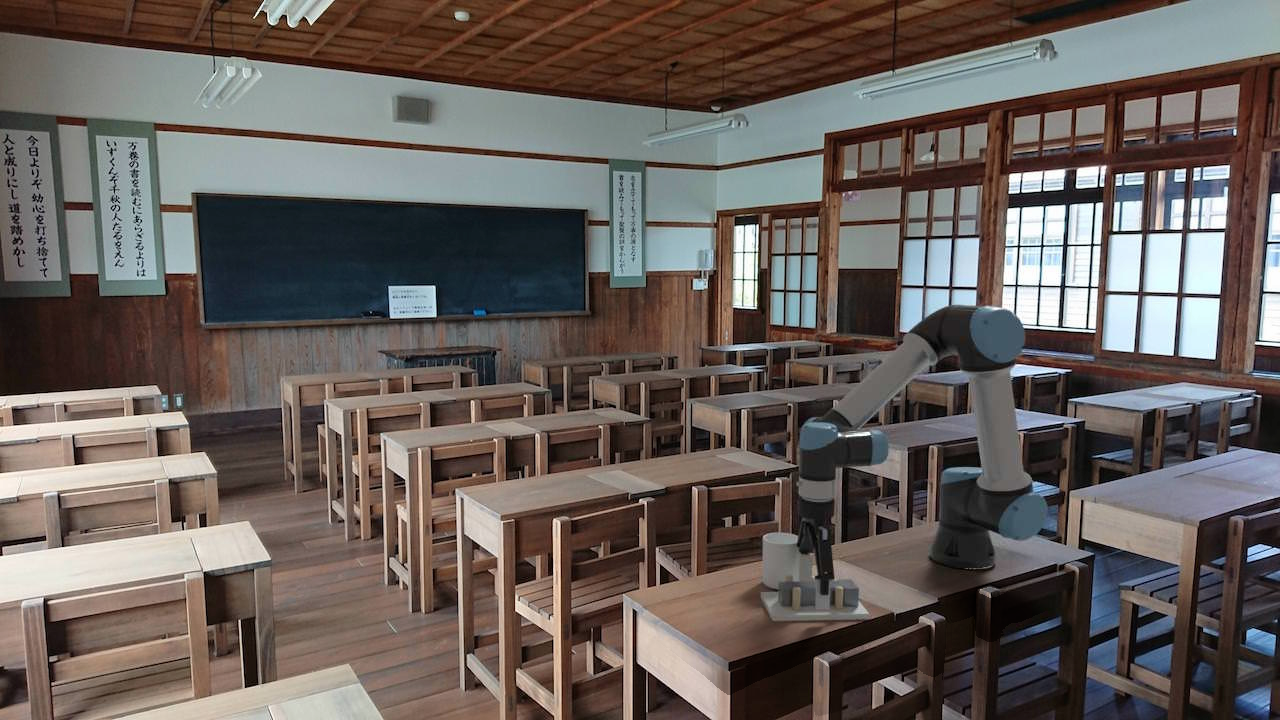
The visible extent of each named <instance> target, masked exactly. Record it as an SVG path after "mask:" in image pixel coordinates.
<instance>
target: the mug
mask: <svg viewBox="0 0 1280 720" xmlns="http://www.w3.org/2000/svg"><path fill="white" fill-rule="evenodd" d="M797 541H798V535H796V534H793V533H787V532H769V533H767V534H765V535H763V537H762V583H763V584H764V585H765V586H766V587H767V588H769V589H773V590H777V591H778V588H779V582H785V576H786V575H791V576H793V582H799V557H800V554H801V553H799V548H798V547H797ZM809 554H811V553H809Z"/></svg>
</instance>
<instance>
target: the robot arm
mask: <svg viewBox="0 0 1280 720" xmlns="http://www.w3.org/2000/svg"><path fill="white" fill-rule="evenodd" d="M902 341H903V343H901V344H900V345H899V346H898V347H897V348H895V350H894V351H893V352H891V353H890V354H889V355H888V356H887V357H886V358H885V359H884V360H883V361H882V362H881V363H880V364H879V365H877V366H876V367H875V368H874V369H873V370H872V371H870V373H869V374H868V375H866V376H865V377H864V378H863V379H862V380H861V381H860V382H859V383H858V384H857V385H856V386H855V387H853V389H852V390H850V391H849V392H848V393H847V394H846V395H845V396H844V397H843V398H842V399H841V400H840V401H839V402H837V403H836V405H834V406H833V407H832V408H831V409H830V410H829V411H828V412H827V413H825V414H824V415H823V416H815V417H814V416H813V417H811V418H808V420H806V421H805V422H804V424H803V425H802V427H801V428H800V434H799V443H798V447H799V449H798V450H799V454H798V455H799V457H798V458H799V459H798V460H799V461H798V464H799V465H798V481H796V482H795V483H796V484H795V485H796V486H797V487H798V495H799V497H798V498H797V514H798V515H799V516H800V517H801V519H800V524H799V532H798V535H797V536H798V541H797V547H798V548H799V553H801V554H800V557H799V582H803V581H813V554H814V558H815V566H816V572H817V574H816V575H815V576H814V580H815V581H816V601H815V608H816V609H829V606H830V580H834V581H835V576H836V575H835V571H834V558H833V550H832V549H833V548H832V530H831V529H830V528H828V526H827V525H826V521H828V519H832V518H833V517H834V516H835V513H836V512H835V509H836V508H835V507H836V501H835V499H834V498H835V497H836V490H837V489H836V485H837V484H836V483H837V482H836V481H837V477H836V474H837V469H841V468H843V469H844V468H854V467H855V468H857V467H858V468H859V467H871V466H877V465H881V464H883V463H885V461H886V460H887V458H888V456H889V447H890V446H889V441H888V438H887V437H886V435H885V433H883V432H882V431H880V429H869V428H868V429H863V430H862V429H861V428H862V427H863V426H864V425H865V424H866V423H867V422H868V421H870V419H872V418H873V417H874V416H875V415H876V414H877V413H878V412H879V411H880V410H881V409H882V408H883V407H884V406H885V405H886V404H888V403H889V402H890V401H891V400H893V398H894V397H895V396H896V395H897V394H898V393H900V391H901V390H903V389H904V388H905V386H907V385H908V384H909V383H911V381H912V380H913V379H915V378H916V376H918V375H919V374H920V373H921V372H922V371H923V370H924V369H925V368H926V367H928V366H930V367H932V366H934V365H936V364H938V362H939V361H941V359H943V358H946V357H948V356H949V357H950V356H952V355H953V356H957V358H958V363H959V368H960V371H961V372H962V373H964V374H965V375H967V376H968V381H969V388H970V396H971V403H972V410H973V416H974V417H973V418H974V422H975V430H976V437H977V445H978V452H979V458H980V464H981V465H980V466H981V467H972V466H959V467H958V466H957V467H949V468H946V469H945V470H943V471H942V473H941V477H940V483H939V507H938V508H939V509H938V510H939V511H938V513H939V514H938V515H939V516H938V518H939V519H938V527H937V530H936V533H935V534H934V537H933V539H932V541H931V544H930V548H929V550H930V551H929V556H930V558H931V559H932V560H933V561H934V562H936V561H937V562H936V563H938V562H939V563H938V564H940V563H941V565H943V564H944V566H946V565H947V567H950V566H951V568H954V567H956V568H955V569H959V568H968V569H969V568H972V569H973V568H983V567H988V566H991V565H993V564H994V563H995V564H996V559H997V558H996V557H997V554H996V551H995V548H994V544H993V541H992V537H991V534H990V531H991V532H993V533H995V534H998V535H1000V536H1001V537H1003V538H1005V539H1010V540H1012V541H1013V540H1014V541H1017V542H1021V541H1022V542H1023V541H1028V540H1029V539H1032V538H1034V537H1035V536H1036V535H1037V534H1038V533H1039V532H1040V531H1041V530H1042V527H1043V526H1044V525H1045V522H1046V521H1047V518H1048V511H1049V510H1048V509H1049V508H1048V504H1047V500H1046V499H1045V498H1044V497H1043V496H1041V494H1039V493H1038V492H1035V491H1034V485H1033V478H1032V477H1031V475H1030V474H1029V473H1027V472H1026V471H1025V470H1024V465H1023V458H1022V451H1021V443H1020V436H1019V430H1018V421H1017V413H1016V407H1015V398H1014V392H1013V385H1012V378H1011V377H1012V375H1011V371H1012V369H1013V368H1014V367H1016V365H1017V358H1018V357H1019V356H1020V354H1022V352H1023V349H1022V348H1023V347H1025V344H1026V330H1025V327H1024V325H1023V323H1022V320H1021V319H1020V318H1019V317H1018V316H1017V314H1015V312H1012V311H1011V310H1009V309H1008V308H1003V307H999V306H998V307H997V306H996V305H995V306H993V305H963V304H951V305H947V306H944V307H942V308H940V309H937V310H936V311H933V312H932V313H930V314H928V315H927V316H925V317H924V318H923V319H922V320H920V321H919V322H918V323H917V324H916V325H914V326H913V327H912V328H911V329H910V330H909V331H908V332H906V334H904V336H903V338H902ZM809 553H810V554H809Z"/></svg>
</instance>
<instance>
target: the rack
mask: <svg viewBox="0 0 1280 720" xmlns="http://www.w3.org/2000/svg"><path fill="white" fill-rule="evenodd" d="M830 581H835V579H834V580H830ZM785 582H793V576H791V575H786V576H785ZM800 596H801V588H799V587H794V588H793V601H792V607H782V606H781V604H780V602H779V600H778V591H761V592H760V599H761V601H762V603H763V605H764V607H765V609H766V611H767V613H768V614H769V617H770V620H771V621H772V622H793V621H794V622H796V621H797V622H799V621H803V622H804V621H805V622H807V621H846V620H847V621H848V620H849V621H850V620H851V621H855V620H856V621H857V619H858V620H869V619H870V613H869V612H868V610H867V609H866V608H865V606H864V605H863V604H862V602H860V600H859V601H858V607H844V606H843V587H840V586H837V587H836V590H835V606H829V609H816V608H815V606H800Z"/></svg>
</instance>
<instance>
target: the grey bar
mask: <svg viewBox="0 0 1280 720" xmlns="http://www.w3.org/2000/svg"><path fill="white" fill-rule="evenodd" d="M837 586H840V587H843V606H844V607H858V601H859V602H860V600H859V599H860V598H859V596H860V595H859V594H860V591H859V590H860V588H859V587H858V585H857V584H856V583H855V582H854V581H853V580H852V579H849V578H848V579H842V578H841V579H837V580H834V581H830V606H835V590H836V587H837ZM794 587H799V588H801V596H800V606H815V601H816V580H815V581H814V580H812V581H803V582H779V588H778V590H777V592H778V600H779V602H780V604H781V606H782V607H792V601H793V588H794Z"/></svg>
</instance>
